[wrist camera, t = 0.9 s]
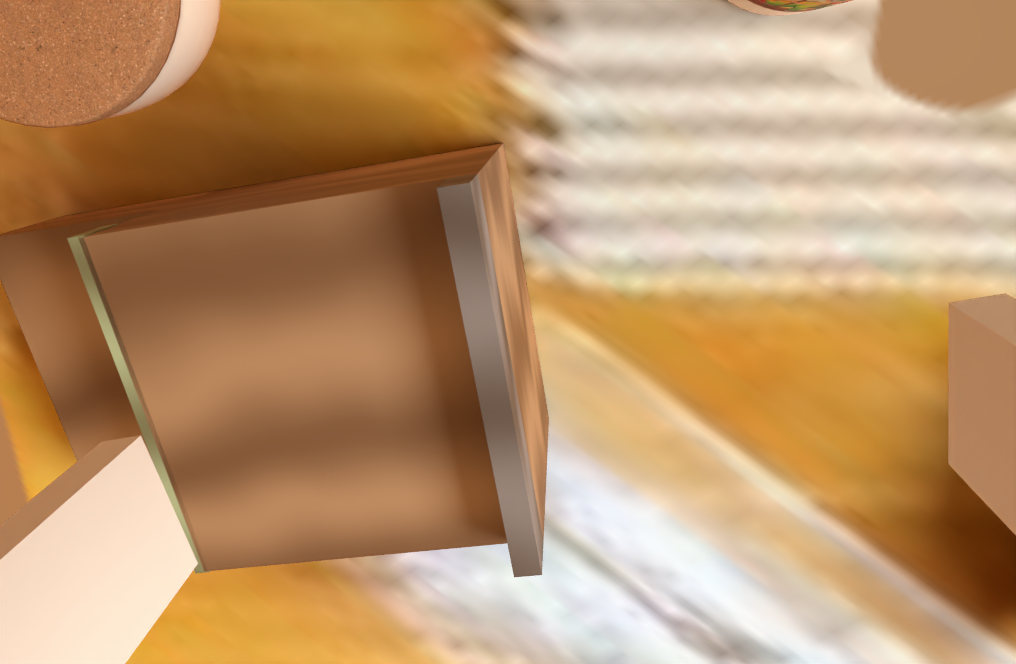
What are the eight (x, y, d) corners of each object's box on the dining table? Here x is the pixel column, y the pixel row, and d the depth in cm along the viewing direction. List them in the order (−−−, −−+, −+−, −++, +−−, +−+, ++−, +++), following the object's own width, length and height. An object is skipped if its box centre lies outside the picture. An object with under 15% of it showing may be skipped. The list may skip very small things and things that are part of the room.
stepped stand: (61, 215, 34) (-181, 285, 23) (503, 141, 32) (469, 181, 20) (157, 464, 39) (-7, 623, 28) (549, 419, 36) (541, 575, 25)
